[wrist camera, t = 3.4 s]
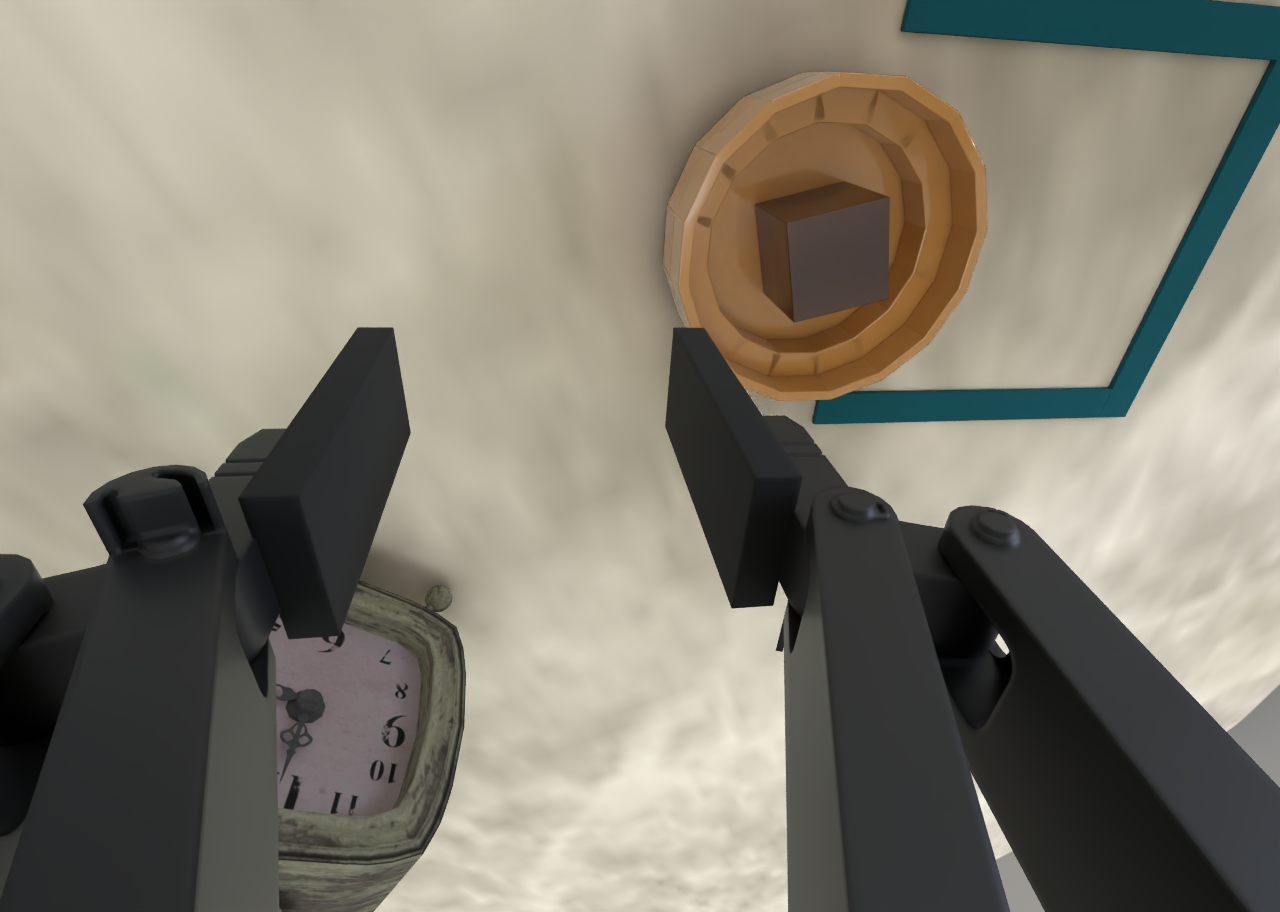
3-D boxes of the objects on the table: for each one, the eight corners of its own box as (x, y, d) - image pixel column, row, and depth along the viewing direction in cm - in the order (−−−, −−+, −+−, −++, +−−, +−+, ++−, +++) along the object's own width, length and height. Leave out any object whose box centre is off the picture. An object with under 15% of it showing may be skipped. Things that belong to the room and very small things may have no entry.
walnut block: (754, 203, 29) (786, 222, 25) (844, 180, 29) (890, 196, 26) (763, 293, 32) (793, 323, 28) (847, 272, 32) (888, 299, 28)
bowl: (673, 63, 26) (697, 62, 23) (970, 83, 28) (1036, 85, 25) (653, 366, 34) (668, 403, 30) (889, 363, 36) (931, 398, 32)
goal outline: (913, -27, 26) (917, -28, 26) (1331, 13, 29) (1338, 12, 29) (812, 421, 37) (813, 424, 37) (1121, 414, 40) (1125, 416, 40)
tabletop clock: (480, 580, 40) (417, 1143, 19) (421, 665, 43) (311, 1225, 22) (241, 492, 34) (-232, 1164, 13) (194, 598, 37) (-243, 1269, 16)
